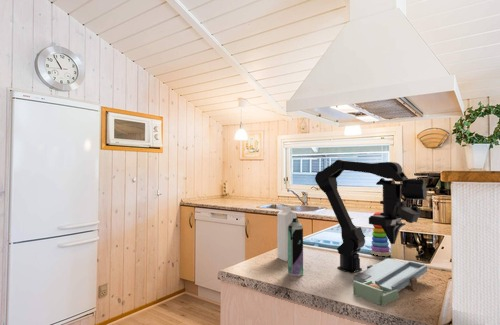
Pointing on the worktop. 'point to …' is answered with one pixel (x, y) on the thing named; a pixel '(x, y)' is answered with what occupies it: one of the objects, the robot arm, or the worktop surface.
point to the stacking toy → (379, 241)
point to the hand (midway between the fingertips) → (392, 243)
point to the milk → (283, 231)
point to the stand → (411, 287)
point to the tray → (374, 293)
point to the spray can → (295, 248)
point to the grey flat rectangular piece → (392, 274)
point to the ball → (375, 286)
